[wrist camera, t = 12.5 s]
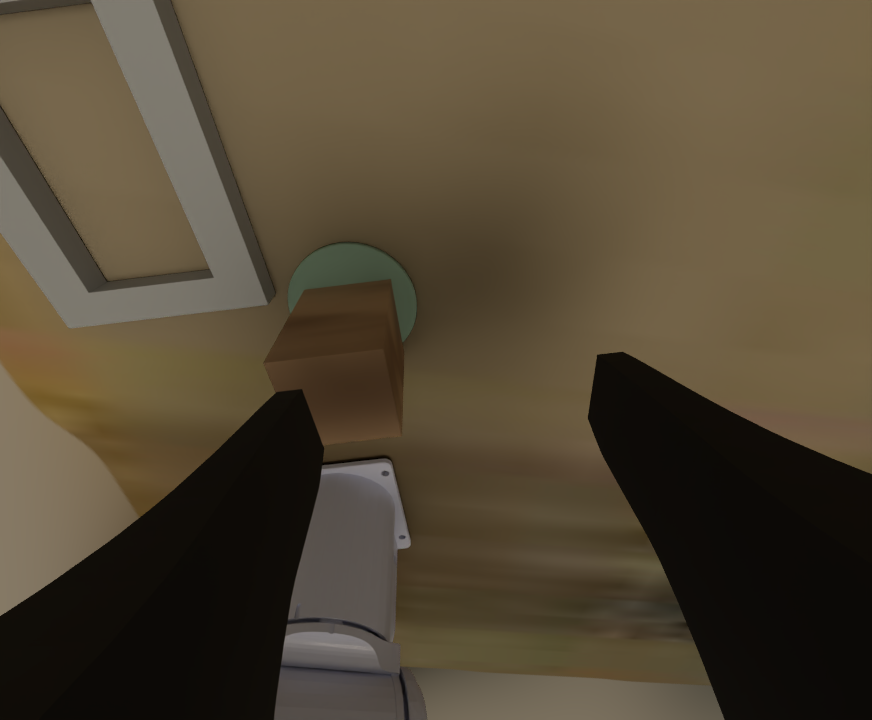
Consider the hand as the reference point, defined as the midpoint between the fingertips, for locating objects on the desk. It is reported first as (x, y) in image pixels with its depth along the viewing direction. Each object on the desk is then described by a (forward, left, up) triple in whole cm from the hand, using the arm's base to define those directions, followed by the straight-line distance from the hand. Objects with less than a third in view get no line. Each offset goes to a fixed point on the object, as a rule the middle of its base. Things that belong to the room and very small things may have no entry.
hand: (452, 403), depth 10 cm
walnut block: (-2, +4, -10) cm, 11 cm away
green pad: (-2, +4, -10) cm, 11 cm away
